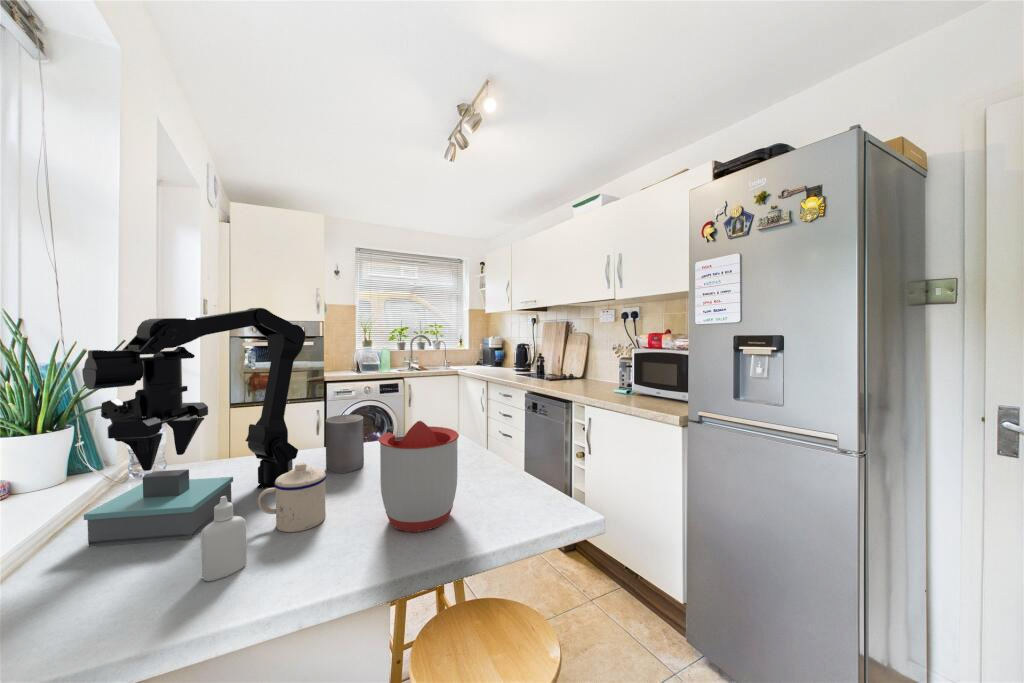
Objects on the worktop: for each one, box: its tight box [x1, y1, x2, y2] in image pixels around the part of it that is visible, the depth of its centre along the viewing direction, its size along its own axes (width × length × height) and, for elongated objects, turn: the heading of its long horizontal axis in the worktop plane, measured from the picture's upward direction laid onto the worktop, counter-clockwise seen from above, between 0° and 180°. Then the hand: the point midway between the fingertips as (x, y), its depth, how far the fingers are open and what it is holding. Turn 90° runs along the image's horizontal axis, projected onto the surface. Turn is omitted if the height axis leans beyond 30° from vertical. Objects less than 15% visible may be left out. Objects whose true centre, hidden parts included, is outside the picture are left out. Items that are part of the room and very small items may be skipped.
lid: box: [83, 469, 234, 521], centre depth 77 cm, size 17×15×6 cm
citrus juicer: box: [378, 420, 460, 533], centre depth 80 cm, size 16×17×20 cm
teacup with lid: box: [257, 462, 327, 533], centre depth 78 cm, size 12×9×12 cm
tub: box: [87, 483, 232, 548], centre depth 77 cm, size 16×14×5 cm
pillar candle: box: [325, 413, 365, 474], centre depth 108 cm, size 10×10×15 cm
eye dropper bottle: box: [200, 496, 248, 582], centre depth 62 cm, size 4×6×12 cm
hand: (164, 462), depth 77 cm, fingers open, 9 cm apart
